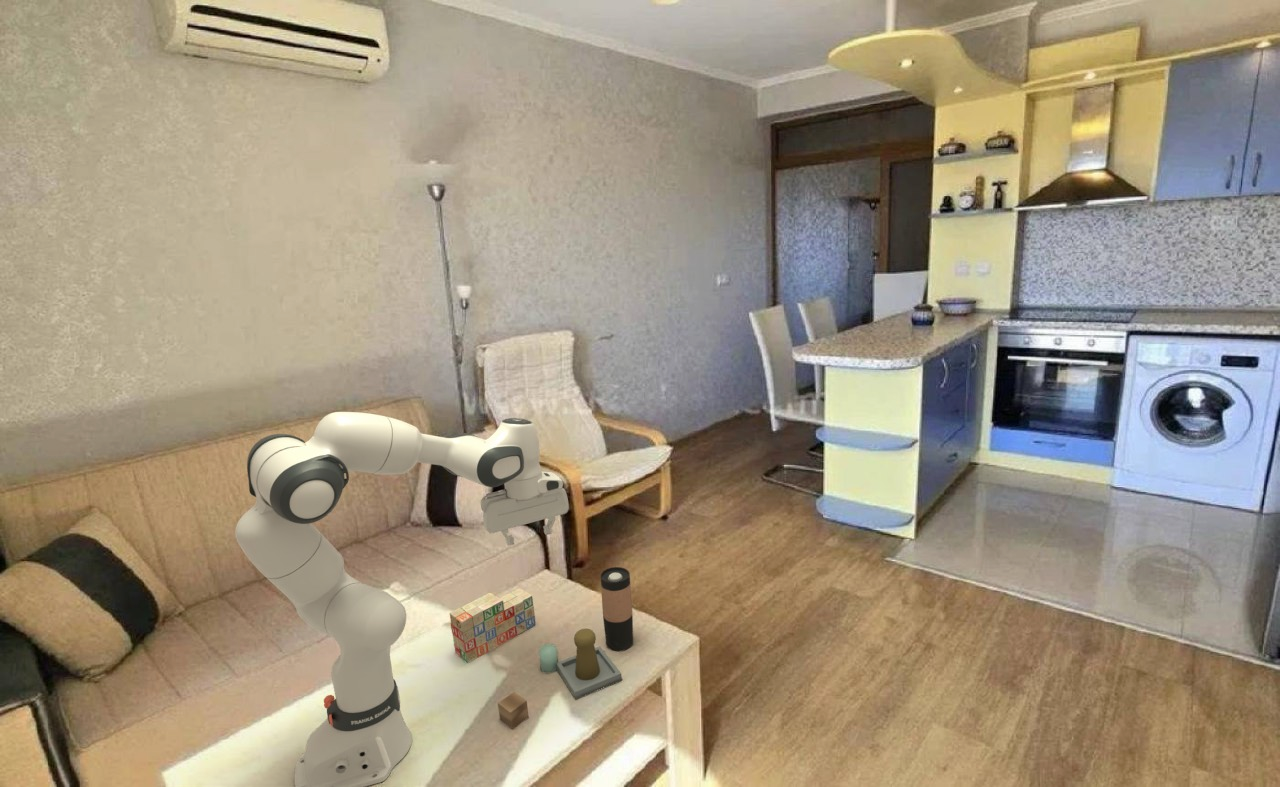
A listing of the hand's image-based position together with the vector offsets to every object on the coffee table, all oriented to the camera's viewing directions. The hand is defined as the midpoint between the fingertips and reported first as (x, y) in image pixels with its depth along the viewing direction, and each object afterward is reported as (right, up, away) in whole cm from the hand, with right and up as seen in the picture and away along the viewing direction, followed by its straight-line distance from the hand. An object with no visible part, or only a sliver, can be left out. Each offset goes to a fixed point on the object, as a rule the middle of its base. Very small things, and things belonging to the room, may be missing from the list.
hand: (529, 538), depth 148 cm
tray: (+14, -34, +3) cm, 37 cm away
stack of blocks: (-12, -32, +18) cm, 39 cm away
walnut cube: (-2, -38, -10) cm, 39 cm away
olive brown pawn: (+14, -33, +3) cm, 36 cm away
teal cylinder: (+4, -33, +6) cm, 34 cm away
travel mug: (+21, -31, +14) cm, 40 cm away
